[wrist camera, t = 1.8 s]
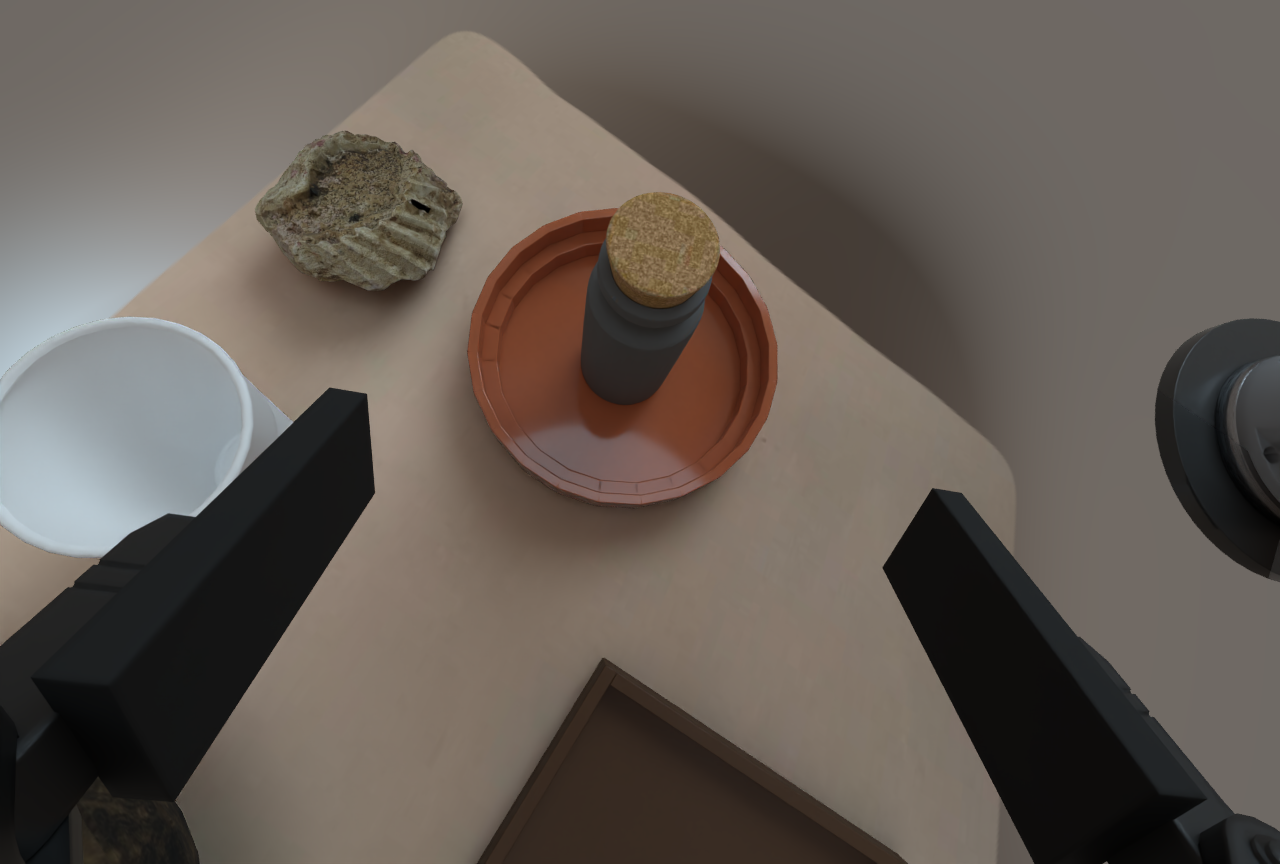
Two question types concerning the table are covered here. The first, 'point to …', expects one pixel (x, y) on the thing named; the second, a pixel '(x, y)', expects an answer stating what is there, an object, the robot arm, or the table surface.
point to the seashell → (359, 212)
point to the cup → (122, 432)
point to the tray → (664, 795)
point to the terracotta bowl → (584, 422)
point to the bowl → (133, 830)
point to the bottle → (646, 295)
